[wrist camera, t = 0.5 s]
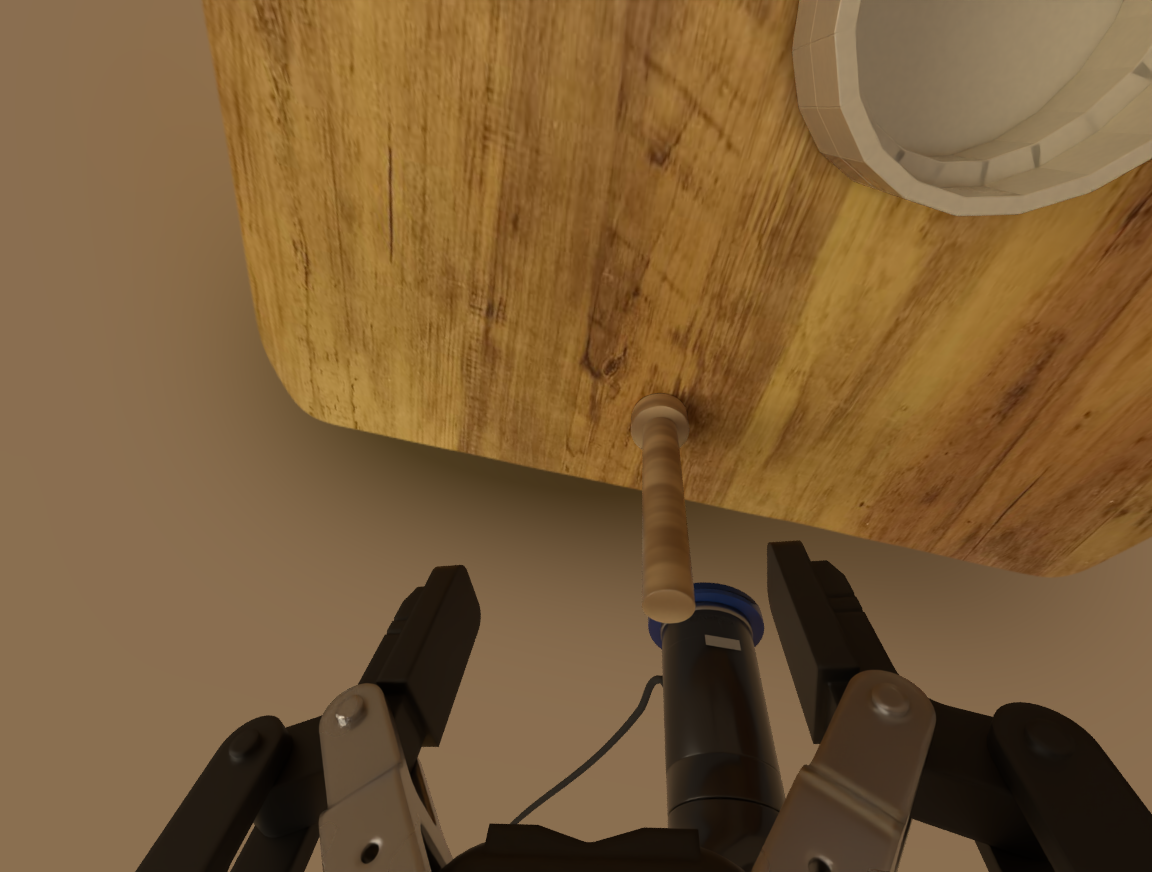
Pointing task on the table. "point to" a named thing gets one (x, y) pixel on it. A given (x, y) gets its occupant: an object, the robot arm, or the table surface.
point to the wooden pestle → (663, 509)
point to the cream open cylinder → (977, 96)
